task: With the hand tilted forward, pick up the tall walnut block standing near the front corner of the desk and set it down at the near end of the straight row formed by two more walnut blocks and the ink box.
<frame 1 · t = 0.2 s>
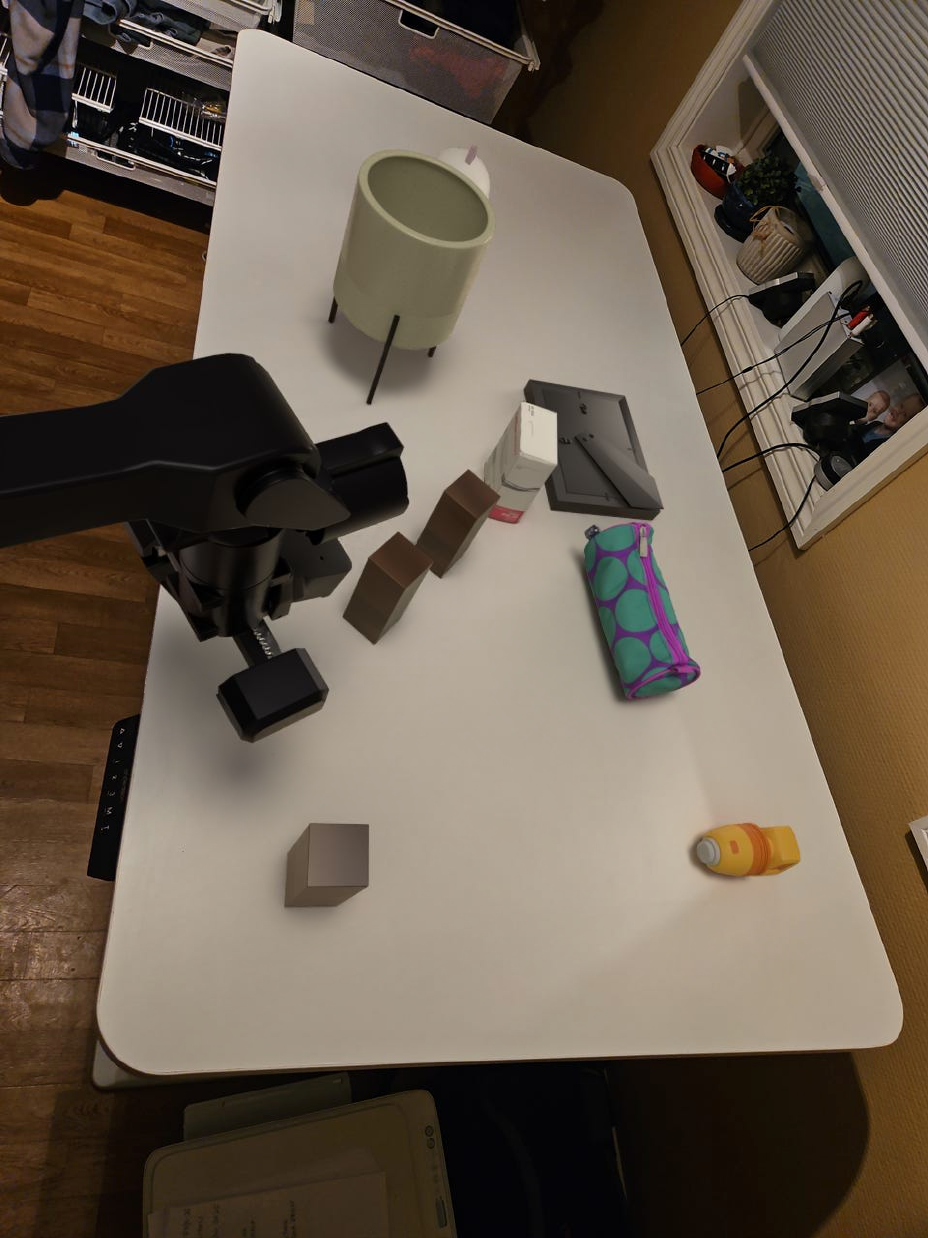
hand: (218, 654, 56), 13 cm above the table, tool pointing down, fingers open, 9 cm apart
pencil case: (616, 626, 88), on the table
ornament: (445, 219, 115), on the table
walnut block row 1: (371, 617, 77), on the table
picture frame: (586, 454, 101), on the table
planter: (376, 362, 95), on the table
walnut block row 2: (436, 554, 84), on the table
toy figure: (731, 854, 79), on the table
walnut block loose: (312, 879, 63), on the table
ink box: (499, 494, 92), on the table
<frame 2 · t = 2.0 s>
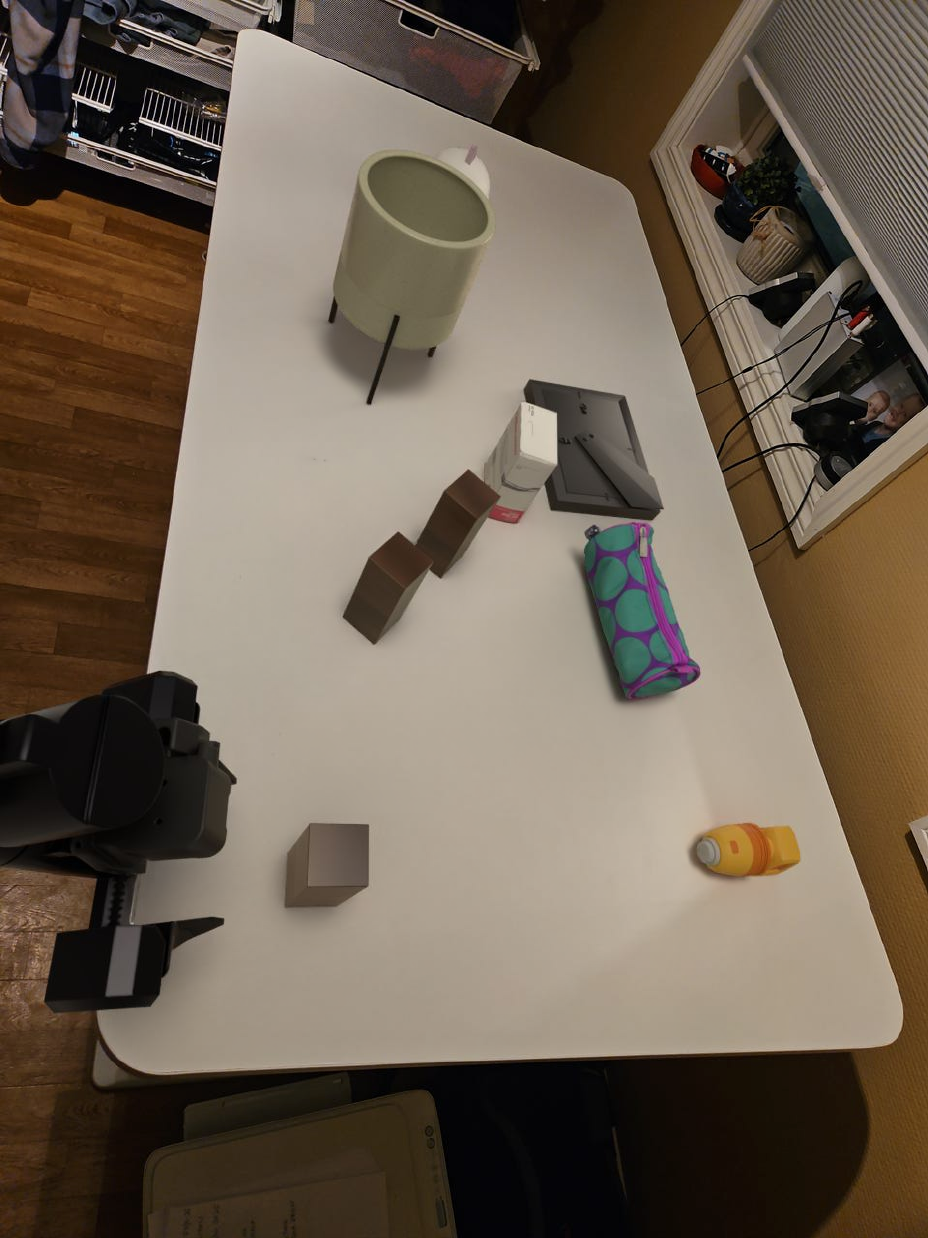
hand: (225, 849, 49), 13 cm above the table, tool tilted 45°, fingers open, 9 cm apart
nothing on the table moved.
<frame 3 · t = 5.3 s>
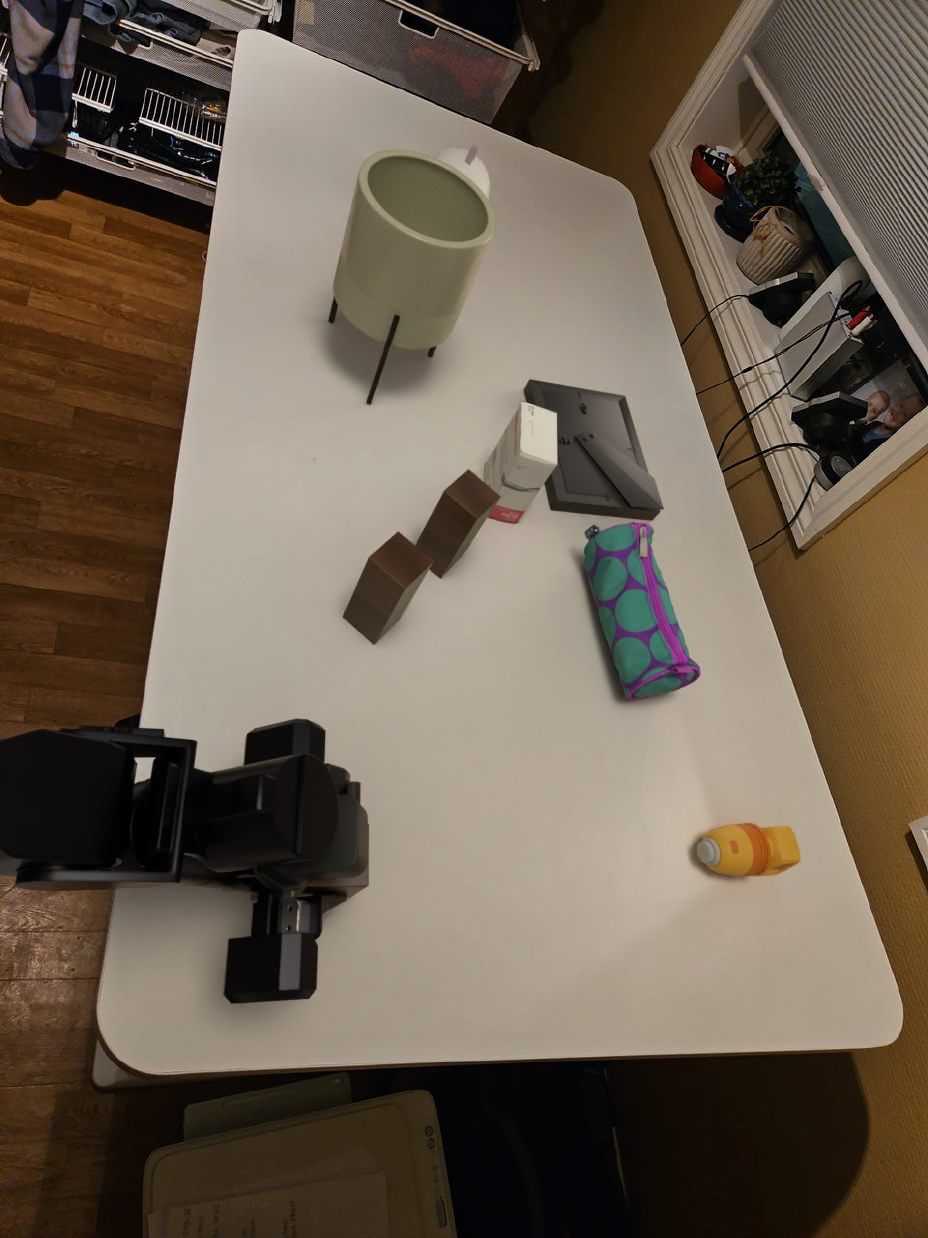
hand: (343, 867, 58), 7 cm above the table, tool tilted 45°, fingers closed on walnut block loose, 4 cm apart
walnut block loose: (312, 879, 63), on the table, touching gripper
everything else where it was.
when the fingers open (7 cm above the table, at t = 12.5 s): walnut block loose stays where it is, on the table.
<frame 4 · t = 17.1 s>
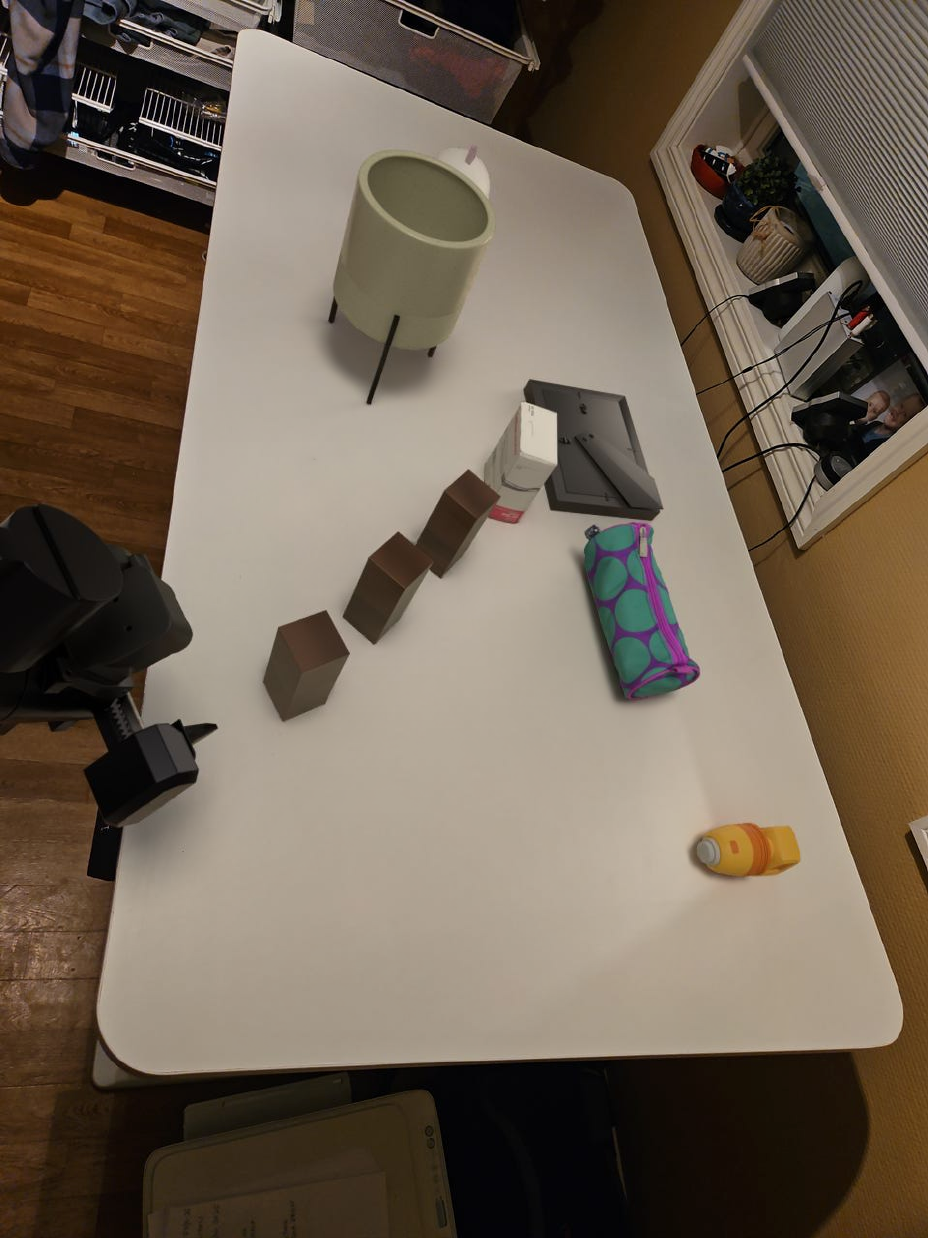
hand: (187, 675, 54), 14 cm above the table, tool tilted 45°, fingers open, 9 cm apart
walnut block loose: (293, 692, 70), on the table
everything else where it was.
at the end: walnut block loose 0.1 cm from the target spot on the table beside the walnut block row 1, on the table; walnut block loose 0.0 cm from the target spot on the table beside the ink box, on the table; walnut block loose tilted 0° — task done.
